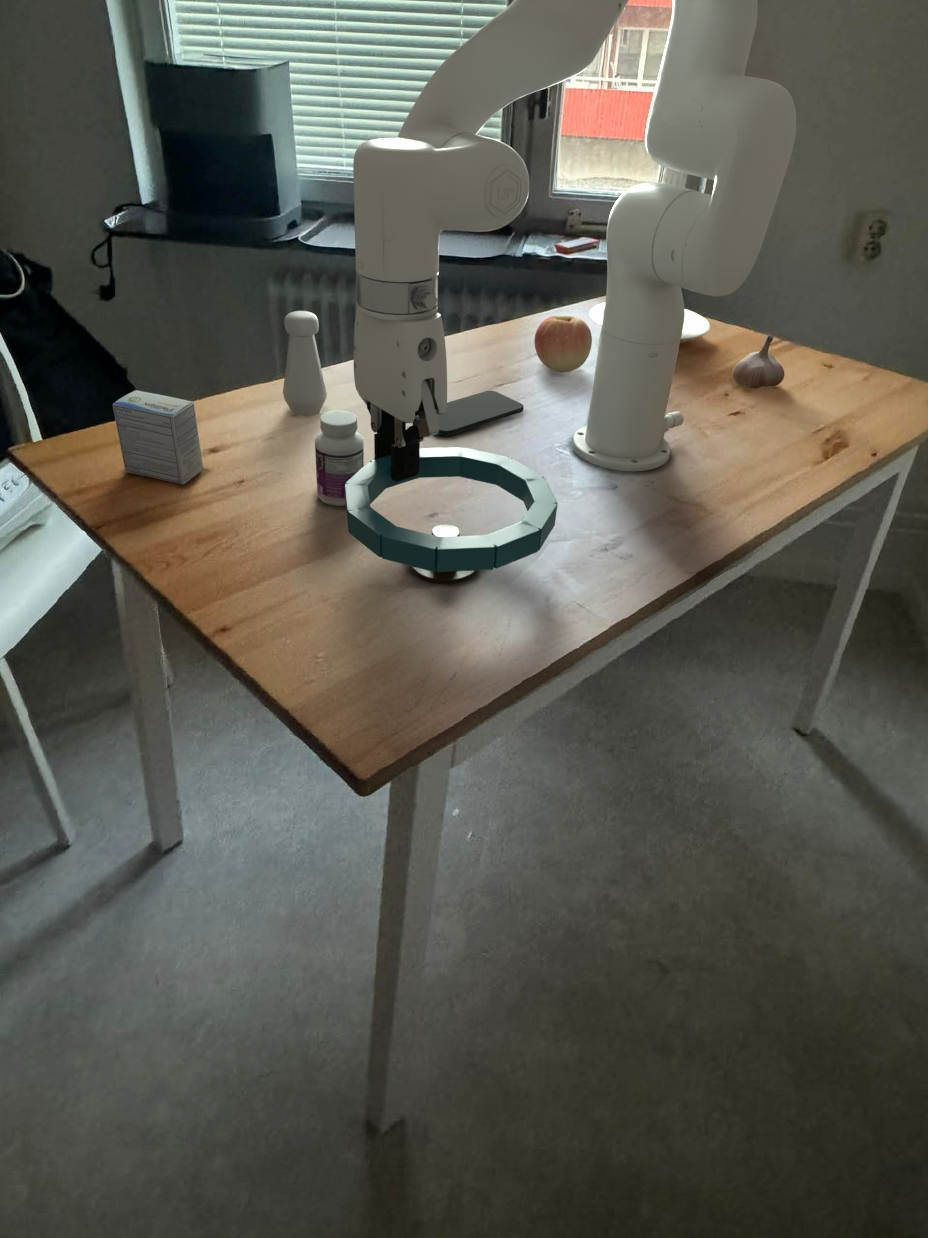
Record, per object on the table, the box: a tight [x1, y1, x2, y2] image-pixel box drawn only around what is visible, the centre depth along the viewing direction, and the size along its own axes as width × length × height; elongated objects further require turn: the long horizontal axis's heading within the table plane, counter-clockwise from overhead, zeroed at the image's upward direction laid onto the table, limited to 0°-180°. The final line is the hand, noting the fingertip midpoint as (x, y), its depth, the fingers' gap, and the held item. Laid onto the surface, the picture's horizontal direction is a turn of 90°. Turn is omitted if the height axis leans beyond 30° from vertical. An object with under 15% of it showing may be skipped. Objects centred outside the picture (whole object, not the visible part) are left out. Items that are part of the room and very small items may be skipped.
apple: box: [533, 315, 593, 373], centre depth 136 cm, size 9×9×8 cm
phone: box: [436, 390, 525, 437], centre depth 121 cm, size 7×1×15 cm
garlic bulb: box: [732, 334, 785, 390], centre depth 135 cm, size 8×7×8 cm
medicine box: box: [112, 390, 204, 486], centre depth 101 cm, size 8×4×9 cm, turn 71°
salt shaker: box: [282, 310, 328, 418], centre depth 116 cm, size 6×6×13 cm
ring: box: [345, 446, 558, 572], centre depth 87 cm, size 20×20×2 cm
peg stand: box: [409, 523, 478, 585], centre depth 89 cm, size 7×7×4 cm
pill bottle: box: [314, 409, 365, 507], centre depth 98 cm, size 5×5×10 cm
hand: (396, 470), depth 92 cm, fingers closed on ring, 2 cm apart
